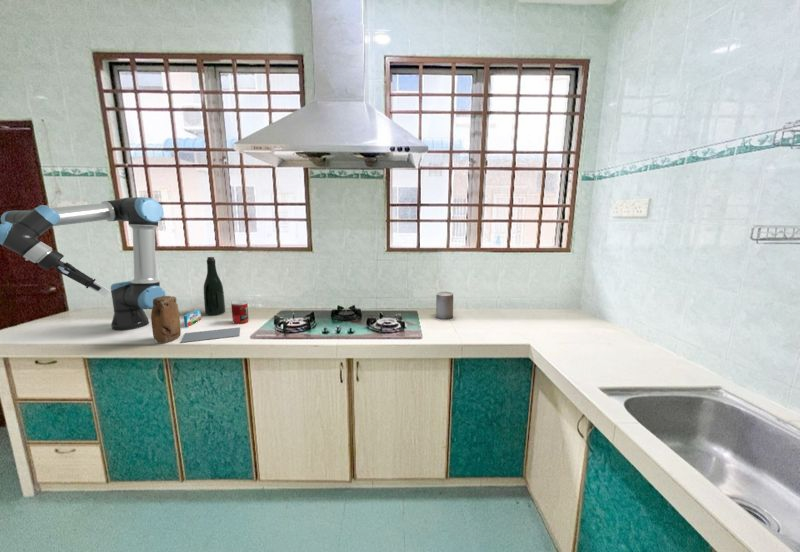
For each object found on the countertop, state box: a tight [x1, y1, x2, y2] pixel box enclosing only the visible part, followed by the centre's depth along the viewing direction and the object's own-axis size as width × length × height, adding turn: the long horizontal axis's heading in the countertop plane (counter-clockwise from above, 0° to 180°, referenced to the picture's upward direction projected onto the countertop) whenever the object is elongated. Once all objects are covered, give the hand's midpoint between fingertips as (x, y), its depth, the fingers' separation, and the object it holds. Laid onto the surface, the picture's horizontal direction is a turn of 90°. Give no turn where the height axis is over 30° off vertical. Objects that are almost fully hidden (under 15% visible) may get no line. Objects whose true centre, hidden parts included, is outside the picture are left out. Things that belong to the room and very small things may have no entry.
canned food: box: [231, 300, 250, 325], centre depth 184 cm, size 8×8×11 cm
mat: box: [179, 326, 241, 344], centre depth 165 cm, size 13×24×1 cm, turn 113°
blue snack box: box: [183, 309, 202, 328], centre depth 181 cm, size 12×2×6 cm, turn 0°
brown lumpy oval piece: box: [150, 295, 182, 344], centre depth 157 cm, size 11×8×20 cm
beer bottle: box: [203, 256, 226, 317], centre depth 198 cm, size 10×10×33 cm
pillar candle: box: [435, 291, 454, 320], centre depth 197 cm, size 10×10×15 cm
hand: (108, 293), depth 144 cm, fingers closed
